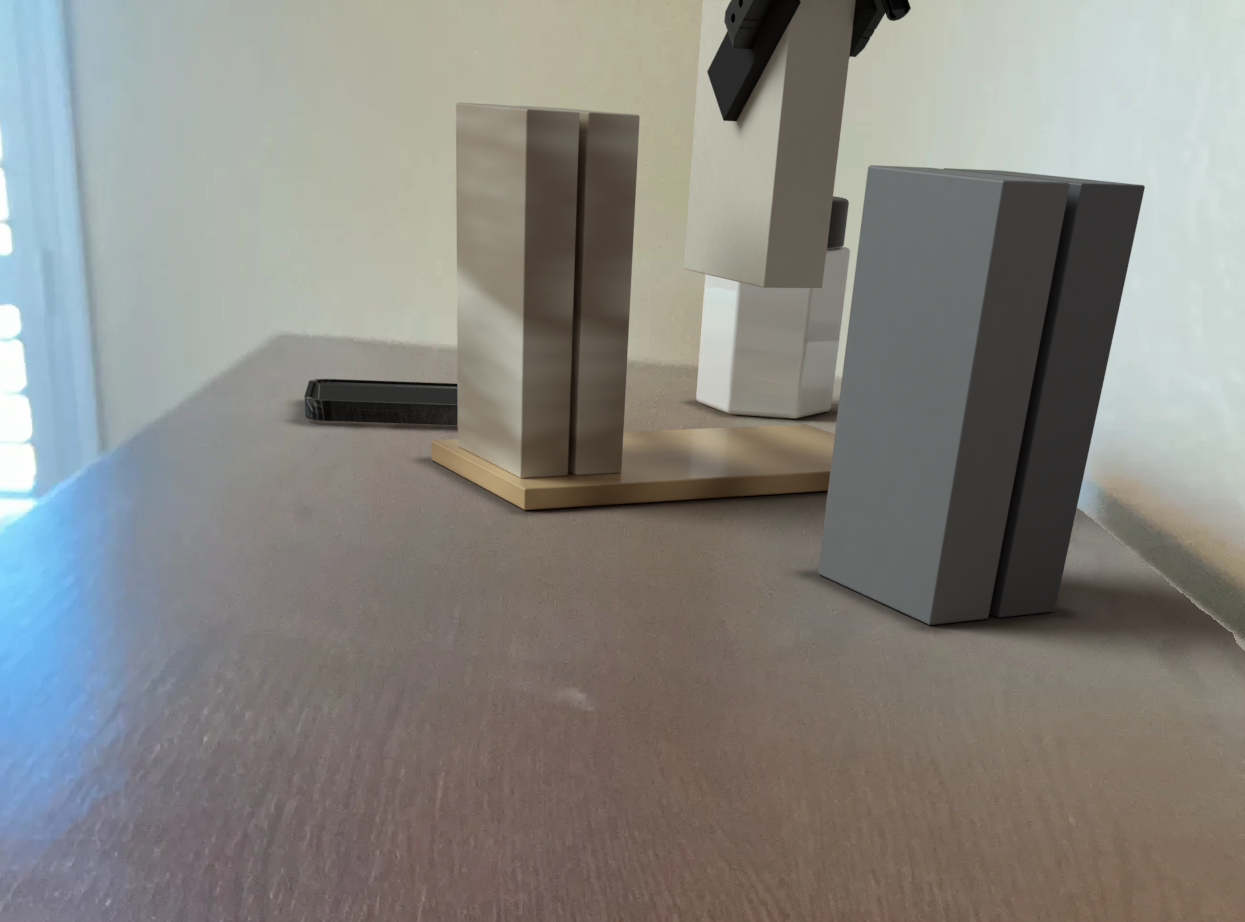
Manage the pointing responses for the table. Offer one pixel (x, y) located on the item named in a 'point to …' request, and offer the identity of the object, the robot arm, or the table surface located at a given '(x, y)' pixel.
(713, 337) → the jar
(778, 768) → the table surface
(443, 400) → the phone
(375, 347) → the table surface
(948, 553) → the grey books
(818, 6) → the tall off-white box
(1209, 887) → the table surface
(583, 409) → the book rack
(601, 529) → the table surface
